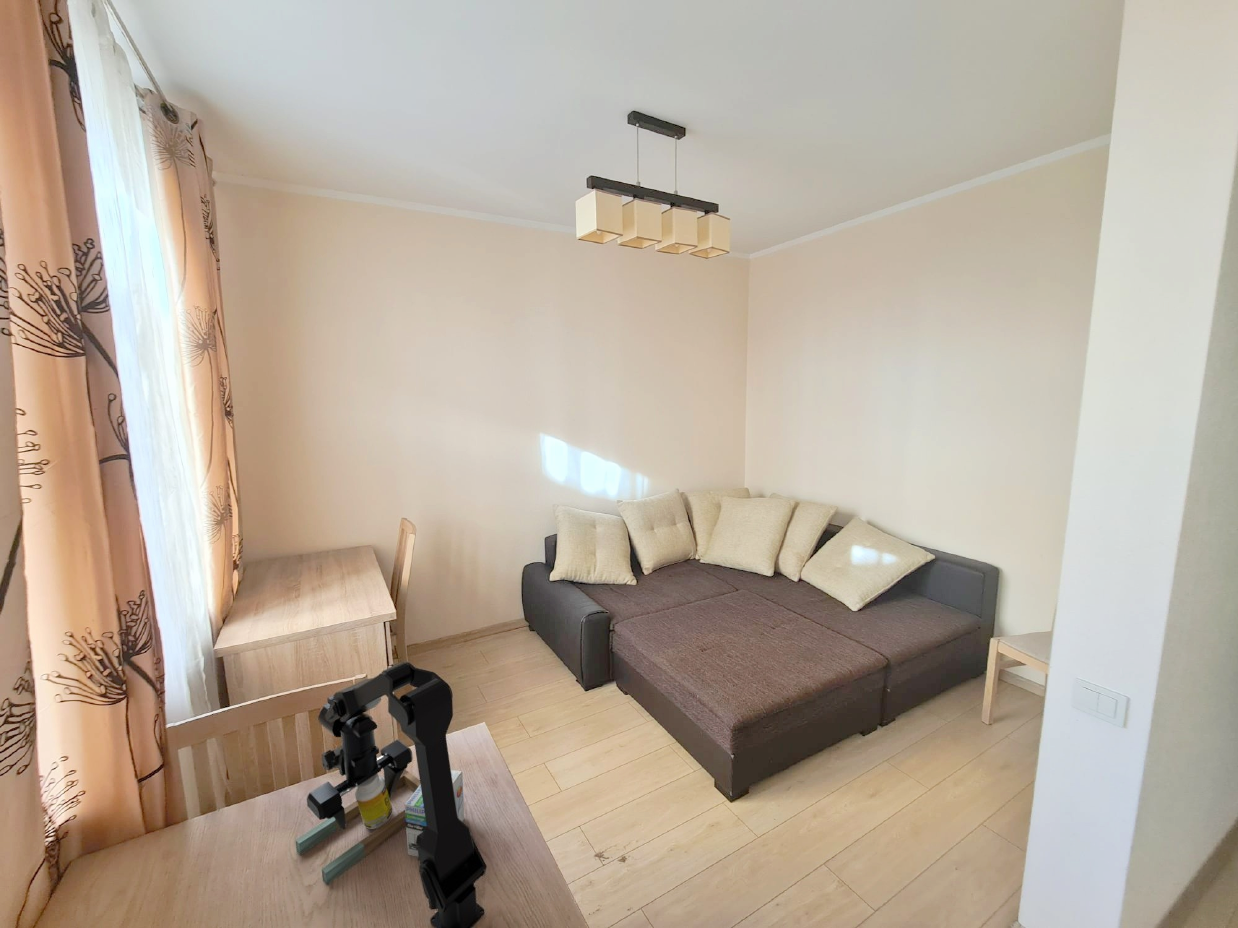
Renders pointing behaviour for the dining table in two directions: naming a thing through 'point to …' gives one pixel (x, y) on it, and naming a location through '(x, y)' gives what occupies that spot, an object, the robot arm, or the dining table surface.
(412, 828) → the light bulb box
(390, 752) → the robot arm
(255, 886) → the dining table surface
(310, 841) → the bay
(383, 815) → the supplement bottle
